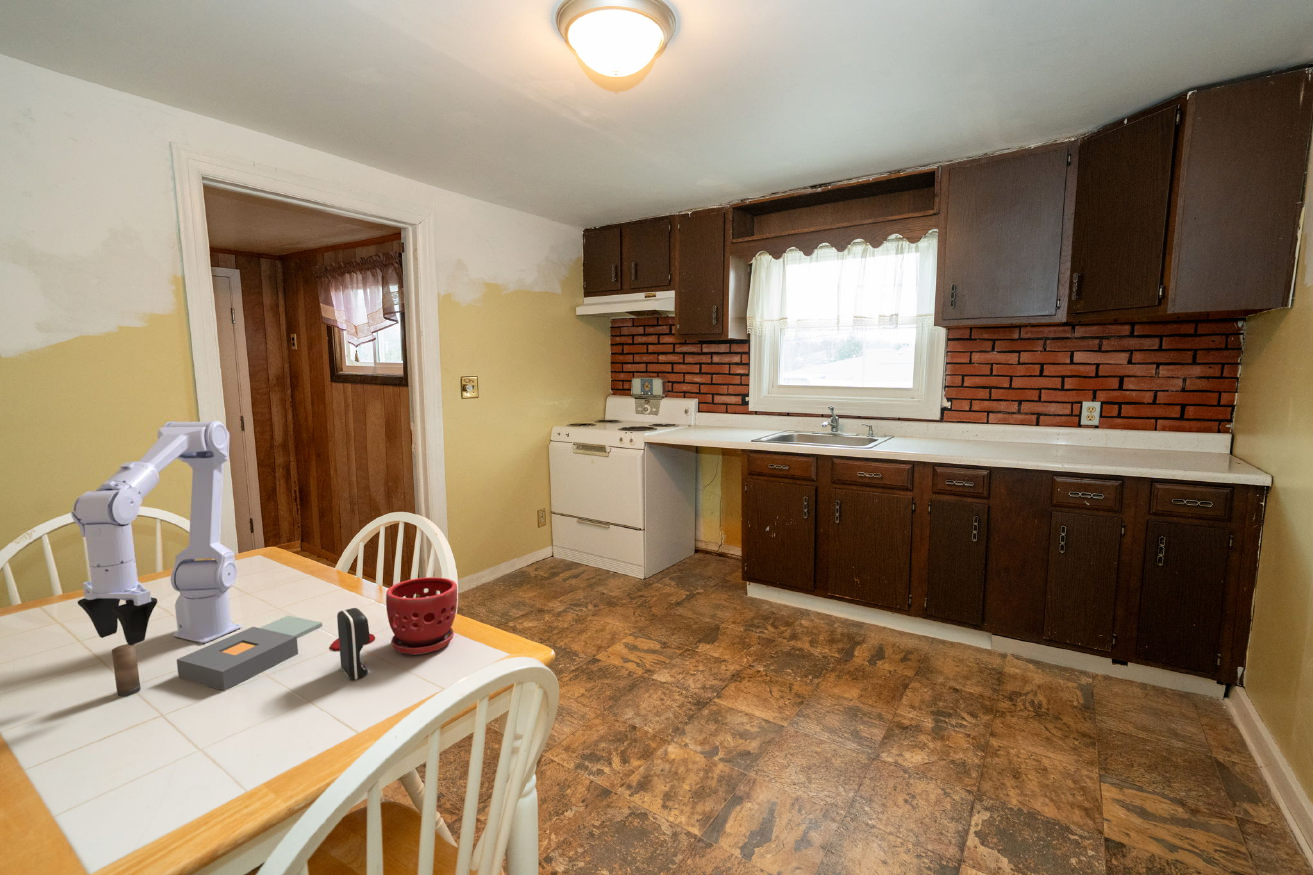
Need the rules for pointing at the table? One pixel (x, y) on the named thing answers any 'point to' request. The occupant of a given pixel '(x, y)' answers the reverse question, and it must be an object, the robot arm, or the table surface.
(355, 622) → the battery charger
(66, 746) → the table surface
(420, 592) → the plant pot
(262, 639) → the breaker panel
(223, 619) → the robot arm
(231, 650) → the button
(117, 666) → the brown cylinder
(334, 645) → the lollipop
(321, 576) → the table surface
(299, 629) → the pad
